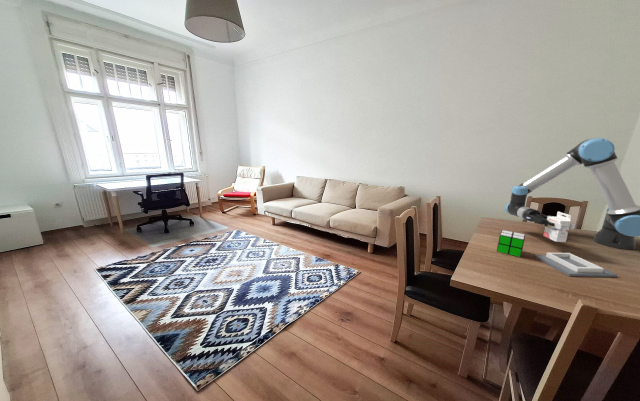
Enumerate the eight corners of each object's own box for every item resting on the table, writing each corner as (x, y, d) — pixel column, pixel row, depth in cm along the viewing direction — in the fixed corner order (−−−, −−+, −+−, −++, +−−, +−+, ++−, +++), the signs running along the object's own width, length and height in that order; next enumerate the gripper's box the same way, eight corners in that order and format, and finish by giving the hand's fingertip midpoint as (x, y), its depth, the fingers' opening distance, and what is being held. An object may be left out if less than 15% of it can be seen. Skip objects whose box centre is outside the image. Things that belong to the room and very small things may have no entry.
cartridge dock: (573, 257, 117) (575, 251, 116) (616, 277, 100) (618, 270, 99) (533, 256, 118) (535, 251, 117) (569, 276, 101) (570, 269, 100)
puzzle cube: (521, 251, 125) (525, 234, 122) (520, 257, 117) (524, 239, 115) (498, 246, 131) (501, 229, 129) (496, 251, 124) (499, 234, 122)
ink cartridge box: (542, 236, 128) (547, 210, 125) (552, 236, 127) (557, 211, 124) (555, 242, 120) (562, 215, 117) (566, 242, 119) (572, 215, 116)
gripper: (543, 220, 140) (584, 233, 117) (512, 220, 140) (547, 233, 118) (545, 208, 138) (587, 220, 115) (514, 208, 139) (550, 220, 116)
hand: (567, 227), depth 117 cm, fingers closed on ink cartridge box, 5 cm apart
